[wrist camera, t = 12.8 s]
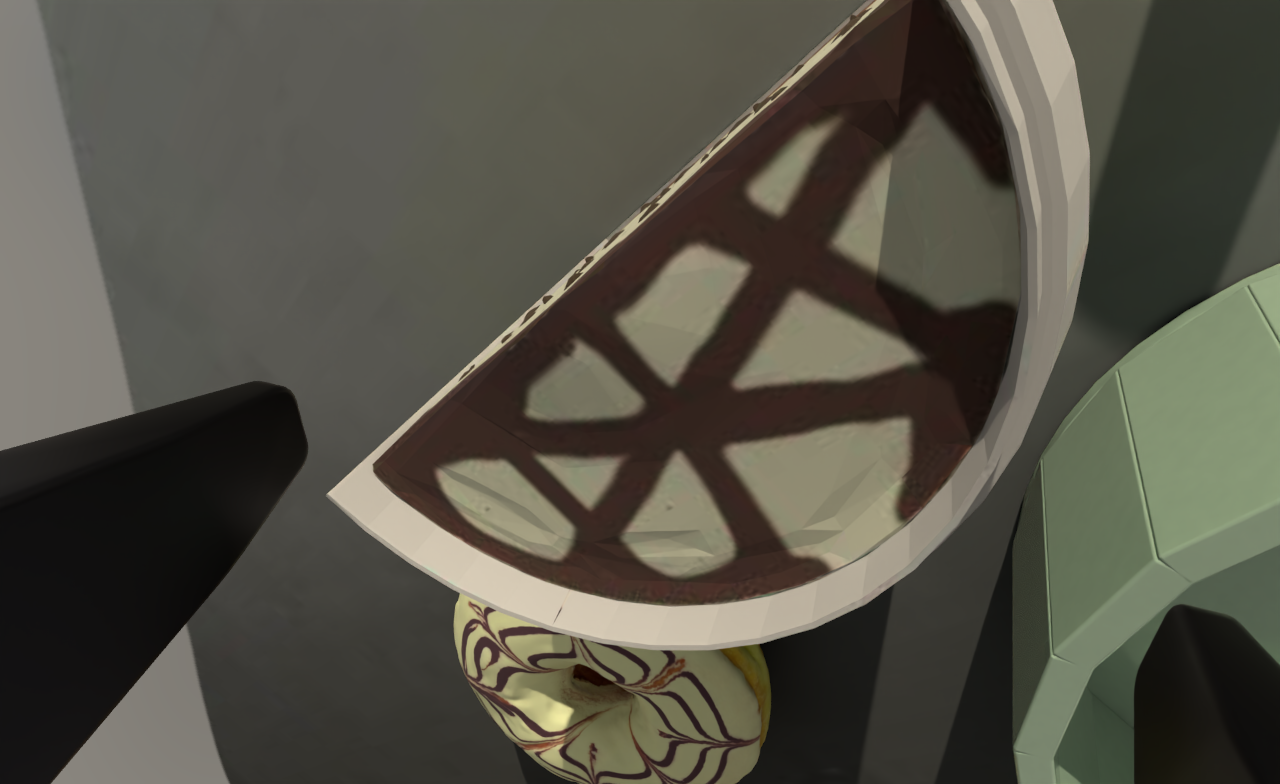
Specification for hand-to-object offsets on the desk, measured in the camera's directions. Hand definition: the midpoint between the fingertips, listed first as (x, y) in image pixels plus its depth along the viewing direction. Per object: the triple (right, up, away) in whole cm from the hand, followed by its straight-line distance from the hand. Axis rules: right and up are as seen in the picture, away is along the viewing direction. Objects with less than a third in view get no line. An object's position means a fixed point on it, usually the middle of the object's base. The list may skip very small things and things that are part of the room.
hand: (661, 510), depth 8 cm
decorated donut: (-1, -7, +20) cm, 21 cm away
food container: (+4, +5, +10) cm, 12 cm away
